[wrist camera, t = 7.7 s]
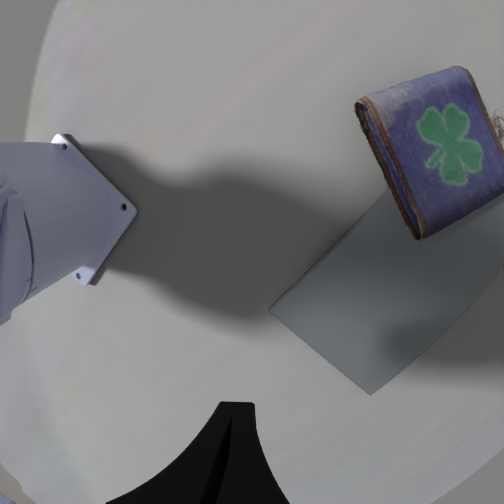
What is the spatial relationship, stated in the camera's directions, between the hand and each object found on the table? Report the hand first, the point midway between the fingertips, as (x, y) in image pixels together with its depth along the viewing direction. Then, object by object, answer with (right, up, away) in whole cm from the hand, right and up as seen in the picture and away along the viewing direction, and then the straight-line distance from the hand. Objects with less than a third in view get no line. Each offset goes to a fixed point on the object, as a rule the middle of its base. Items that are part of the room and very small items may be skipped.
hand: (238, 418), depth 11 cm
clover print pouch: (+8, +11, +5) cm, 15 cm away
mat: (+13, +6, +8) cm, 16 cm away
